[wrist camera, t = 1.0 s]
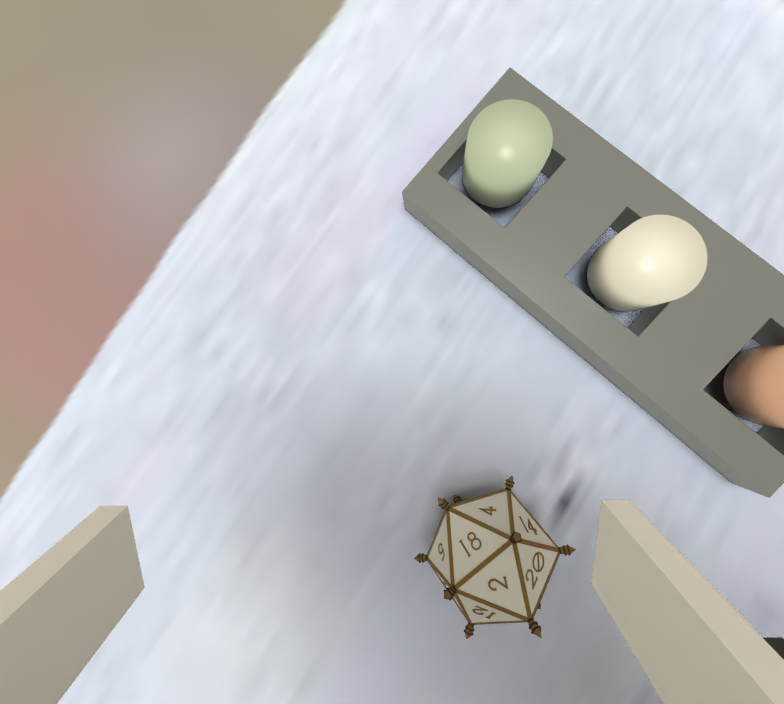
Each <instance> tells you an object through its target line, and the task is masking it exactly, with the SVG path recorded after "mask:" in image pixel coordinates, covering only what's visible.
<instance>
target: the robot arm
mask: <svg viewBox="0 0 784 704" xmlns="http://www.w3.org/2000/svg"><path fill="white" fill-rule="evenodd" d="M591 584H592V586H593V587H594V589H595V591H596V592H597V594H598V596H599V597H600V599H601V601H602V602H603V604H604V606H605V607H606V609H607V611H608V612H609V614H610V616H611V617H612V619H613V621H614V622H615V624H616V626H617V627H618V629H619V631H620V632H621V634H622V636H623V637H624V639H625V641H626V642H627V644H628V646H629V647H630V649H631V651H632V652H633V654H634V656H635V657H636V659H637V661H638V662H639V664H640V666H641V667H642V669H643V671H644V672H645V674H646V676H647V677H648V679H649V681H650V682H651V684H652V686H653V687H654V689H655V691H656V692H657V694H658V696H659V697H660V699H661V701H662V702H663V704H784V639H783V638H762V637H761V636H760V635H759V634H758V633H757V632H756V631H755V630H754V628H753V627H752V626H751V625H750V624H749V623H748V622H747V621H746V620H745V619H744V618H743V617H742V616H741V615H740V614H739V613H738V612H737V611H736V610H735V609H734V608H733V607H732V606H731V605H730V604H729V603H728V602H727V600H726V599H725V598H724V597H723V596H722V595H721V594H720V593H719V592H718V591H717V590H716V589H715V588H714V587H713V586H712V585H711V584H710V583H709V582H708V581H707V580H706V579H705V578H704V577H703V576H702V575H701V574H700V572H699V571H698V570H697V569H696V568H695V567H694V566H693V565H692V564H691V563H690V562H689V561H688V560H687V559H686V558H685V557H684V556H683V555H682V554H681V553H680V552H679V551H678V550H677V549H676V548H675V547H674V546H673V544H672V543H671V542H670V541H669V540H668V539H667V538H666V537H665V536H664V535H663V534H662V533H661V532H660V531H659V530H658V529H657V528H656V527H655V526H654V525H653V524H652V523H651V522H650V521H649V520H648V519H647V517H646V516H645V515H644V514H643V513H642V512H641V511H640V510H639V509H638V508H637V507H636V506H635V505H634V504H633V503H632V502H631V501H630V500H601V507H600V515H599V523H598V531H597V539H596V547H595V555H594V563H593V571H592V579H591ZM143 589H144V583H143V578H142V573H141V568H140V563H139V559H138V554H137V549H136V544H135V539H134V534H133V529H132V525H131V520H130V515H129V510H128V506H100V507H99V508H98V509H96V510H95V511H94V512H93V513H92V514H90V515H89V516H88V517H87V518H86V519H85V520H83V521H82V522H81V523H80V524H79V525H78V526H76V527H75V528H74V529H73V530H72V531H70V532H69V533H68V534H67V535H66V536H65V537H63V538H62V539H61V540H60V541H59V542H58V543H56V544H55V545H54V546H53V547H52V548H50V549H49V550H48V551H47V552H46V553H45V554H43V555H42V556H41V557H40V558H39V559H38V560H36V561H35V562H34V563H33V564H32V565H30V566H29V567H28V568H27V569H26V570H25V571H23V572H22V573H21V574H20V575H19V576H18V577H16V578H15V579H14V580H13V581H12V582H10V583H9V584H8V585H7V586H6V587H5V588H3V589H2V590H1V591H0V704H57V703H58V701H59V700H60V699H61V698H62V696H63V695H64V694H65V692H66V691H67V690H68V688H69V687H70V686H71V684H72V683H73V682H74V680H75V679H76V678H77V676H78V675H79V674H80V672H81V671H82V670H83V668H84V667H85V666H86V664H87V663H88V662H89V660H90V659H91V658H92V656H93V655H94V654H95V652H96V651H97V650H98V648H99V647H100V646H101V645H102V643H103V642H104V641H105V639H106V638H107V637H108V635H109V634H110V633H111V631H112V630H113V629H114V627H115V626H116V625H117V623H118V622H119V621H120V619H121V618H122V617H123V615H124V614H125V613H126V611H127V610H128V609H129V607H130V606H131V605H132V603H133V602H134V601H135V599H136V598H137V597H138V595H139V594H140V593H141V591H142V590H143Z"/></svg>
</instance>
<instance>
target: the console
mask: <svg viewBox="0 0 784 704" xmlns="http://www.w3.org/2000/svg"><path fill="white" fill-rule="evenodd" d="M508 99H516V100H522V101H526V102H529V103H531V104H533V105H534V106H536V107H537V108H539V109H540V110H541V111H542V112H543V113H544V114H545V116H546V117H547V119H548V120H549V123H550V125H551V128H552V133H553V144H552V149H551V152H550V154H549V157H548V159H547V160H546V162H545V164H544V166H543V168H542V170H541V172H542V173H543V174H545V175H546V176H547V177H548V178H549V179H548V180H547V181H546V183H545V184H544V185H543V186H542V187H541V188H540V189H539V191H538V192H537V193H536V194H535V195H534V196H533V197H532V198H531V200H530V201H529V202H528V203H527V204H526V205H525V206H524V207H523V209H522V210H521V211H520V212H519V213H518V214H517V215H516V216H515V218H514V219H513V220H512V221H511V222H510V223H509V224H508V226H507V227H506V228H504V227H503V226H502V225H500V224H499V223H498V222H497V221H495V220H494V219H493V218H492V217H491V216H489V215H488V214H487V213H486V212H484V211H483V210H482V209H481V208H480V207H478V206H477V205H476V204H475V203H473V202H472V201H471V200H470V199H468V198H467V197H466V196H465V195H464V194H462V193H461V192H460V191H459V190H457V189H456V188H455V187H454V186H453V185H451V184H450V183H449V182H448V181H447V180H448V179H449V178H450V177H451V176H452V175H453V173H454V172H455V171H456V170H457V169H458V168H459V167H460V165H461V164H462V163H463V162H464V155H465V148H466V142H467V135H468V131H469V128H470V126H471V124H472V122H473V120H474V119H475V117H476V116H477V115H478V114H479V113H480V112H481V111H482V110H483V109H484V108H486V107H487V106H489V105H491V104H493V103H495V102H498V101H502V100H508ZM402 194H403V200H404V206H405V210H406V211H408V212H409V213H410V214H411V215H412V216H414V217H415V218H416V219H417V220H418V221H420V222H421V223H422V224H423V225H424V226H426V227H427V228H428V229H429V230H430V231H432V232H433V233H434V234H435V235H436V236H437V237H439V238H440V239H441V240H442V241H443V242H445V243H446V244H447V245H448V246H449V247H451V248H452V249H453V250H454V251H455V252H457V253H458V254H459V255H460V256H461V257H463V258H464V259H465V260H466V261H467V262H468V263H470V264H471V265H472V266H473V267H474V268H476V269H477V270H478V271H479V272H480V273H482V274H483V275H484V276H485V277H486V278H488V279H489V280H490V281H491V282H492V283H494V284H495V285H496V286H497V287H498V288H500V289H501V290H502V291H503V292H504V293H505V294H507V295H508V296H509V297H510V298H511V299H513V300H514V301H515V302H516V303H517V304H519V305H520V306H521V307H522V308H523V309H525V310H526V311H527V312H528V313H529V314H531V315H532V316H533V317H534V318H535V319H537V320H538V321H539V322H540V323H541V324H542V325H544V326H545V327H546V328H547V329H548V330H550V331H551V332H552V333H553V334H554V335H556V336H557V337H558V338H559V339H560V340H562V341H563V342H564V343H565V344H566V345H568V346H569V347H570V348H571V349H572V350H574V351H575V352H576V353H577V354H578V355H579V356H581V357H582V358H583V359H584V360H585V361H587V362H588V363H589V364H590V365H591V366H593V367H594V368H595V369H596V370H597V371H599V372H600V373H601V374H602V375H603V376H605V377H606V378H607V379H608V380H609V381H611V382H612V383H613V384H614V385H615V386H616V387H618V388H619V389H620V390H621V391H622V392H624V393H625V394H626V395H627V396H628V397H630V398H631V399H632V400H633V401H634V402H636V403H637V404H638V405H639V406H640V407H642V408H643V409H644V410H645V411H646V412H648V413H649V414H650V415H651V416H652V417H653V418H655V419H656V420H657V421H658V422H659V423H661V424H662V425H663V426H664V427H665V428H667V429H668V430H669V431H670V432H671V433H673V434H674V435H675V436H676V437H677V438H679V439H680V440H681V441H682V442H683V443H685V444H686V445H687V446H688V447H689V448H690V449H692V450H693V451H694V452H695V453H696V454H698V455H699V456H700V457H701V458H702V459H704V460H705V461H706V462H707V463H708V464H710V465H711V466H712V467H713V468H714V469H716V470H717V471H718V472H719V473H720V474H722V475H723V476H724V477H725V478H726V479H727V480H729V481H730V482H731V483H733V484H735V485H738V486H740V487H743V488H746V489H748V490H751V491H753V492H756V493H758V494H761V495H764V496H766V497H769V498H770V497H771V496H772V495H773V493H774V492H775V491H776V490H777V489H778V488H779V487H780V486H781V485H782V484H783V483H784V429H782V428H777V427H771V426H764V427H763V428H762V429H761V430H760V431H759V432H758V433H755V432H754V431H753V430H752V429H751V428H749V427H748V426H747V425H746V424H744V423H743V422H742V421H741V420H740V419H738V418H737V417H736V416H735V415H733V414H732V413H731V412H730V411H728V410H727V409H726V408H725V407H724V406H722V405H721V404H720V403H719V402H717V401H716V400H715V399H714V398H713V397H711V396H710V395H709V394H708V393H706V392H705V391H704V390H703V389H704V388H705V387H706V386H707V385H708V384H709V383H710V382H711V381H712V380H713V378H714V377H715V376H716V375H717V374H718V373H719V372H720V371H721V370H722V369H723V368H724V367H725V366H726V365H727V364H728V362H729V361H730V360H731V359H732V358H733V357H734V356H735V355H736V354H737V353H738V352H739V351H740V350H741V349H742V347H743V346H744V345H745V344H746V343H747V342H748V341H749V340H750V339H751V338H753V339H755V340H756V341H757V342H758V343H760V344H761V345H762V346H774V345H784V275H783V274H782V273H780V272H779V271H778V270H776V269H775V268H774V267H772V266H771V265H770V264H769V263H767V262H766V261H765V260H763V259H762V258H761V257H759V256H758V255H757V254H755V253H754V252H753V251H751V250H750V249H749V248H747V247H746V246H745V245H743V244H742V243H741V242H739V241H738V240H737V239H736V238H734V237H733V236H732V235H730V234H729V233H728V232H726V231H725V230H724V229H722V228H721V227H720V226H718V225H717V224H716V223H714V222H713V221H712V220H710V219H709V218H708V217H707V216H705V215H704V214H703V213H701V212H700V211H699V210H697V209H696V208H695V207H693V206H692V205H691V204H689V203H688V202H687V201H685V200H684V199H683V198H681V197H680V196H679V195H677V194H676V193H675V192H674V191H672V190H671V189H670V188H668V187H667V186H666V185H664V184H663V183H662V182H660V181H659V180H658V179H656V178H655V177H654V176H652V175H651V174H650V173H648V172H647V171H646V170H645V169H643V168H642V167H641V166H639V165H638V164H637V163H635V162H634V161H633V160H631V159H630V158H629V157H627V156H626V155H625V154H623V153H622V152H621V151H619V150H618V149H617V148H616V147H614V146H613V145H612V144H610V143H609V142H608V141H606V140H605V139H604V138H602V137H601V136H600V135H598V134H597V133H596V132H594V131H593V130H592V129H590V128H589V127H588V126H586V125H585V124H584V123H583V122H581V121H580V120H579V119H577V118H576V117H575V116H573V115H572V114H571V113H569V112H568V111H567V110H565V109H564V108H563V107H561V106H560V105H559V104H557V103H556V102H555V101H554V100H552V99H551V98H550V97H548V96H547V95H546V94H544V93H543V92H542V91H540V90H539V89H538V88H536V87H535V86H534V85H532V84H531V83H530V82H528V81H527V80H526V79H524V78H523V77H522V76H521V75H519V74H518V73H517V72H515V71H514V70H513V69H511V68H509V69H508V70H507V71H506V73H505V74H504V75H503V76H502V77H501V78H500V79H499V81H498V82H497V83H496V84H495V85H494V86H493V88H492V89H491V90H490V91H489V92H488V93H487V94H486V96H485V97H484V98H483V99H482V100H481V101H480V103H479V104H478V105H477V106H476V107H475V108H474V109H473V111H472V112H471V113H470V114H469V115H468V116H467V118H466V119H465V120H464V121H463V122H462V123H461V124H460V126H459V127H458V128H457V129H456V130H455V131H454V133H453V134H452V135H451V136H450V137H449V138H448V139H447V141H446V142H445V143H444V144H443V145H442V146H441V148H440V149H439V150H438V151H437V152H436V153H435V154H434V156H433V157H432V158H431V159H430V160H429V161H428V163H427V164H426V165H425V166H424V167H423V168H422V169H421V171H420V172H419V173H418V174H417V175H416V176H415V178H414V179H413V180H412V181H411V182H410V183H409V184H408V186H407V187H406V188H405V189H404V190H403V191H402ZM651 215H670V216H674V217H677V218H680V219H682V220H684V221H686V222H687V223H689V224H690V225H692V226H693V227H694V228H695V229H696V230H697V231H698V232H699V234H700V235H701V237H702V239H703V241H704V243H705V246H706V249H707V267H706V271H705V273H704V276H703V278H702V279H701V281H700V283H699V284H698V285H697V286H696V287H695V288H694V289H693V290H692V291H691V292H690V293H688V294H687V295H685V296H683V297H681V298H679V299H676V300H673V301H669V302H665V303H662V304H658V305H655V306H651V307H647V308H645V309H644V310H643V312H642V313H641V314H640V315H639V316H638V317H637V318H636V319H635V320H634V321H633V322H632V324H631V325H630V326H629V327H628V328H627V327H625V326H624V325H623V324H622V323H621V322H619V321H618V320H617V319H616V318H614V317H613V316H612V315H611V314H610V313H608V312H607V311H606V310H605V309H603V308H602V307H601V306H600V305H598V304H597V303H596V302H595V301H594V300H592V299H591V298H590V297H589V296H587V295H586V294H585V293H584V292H583V291H581V290H580V289H579V288H578V287H576V286H575V285H574V284H573V283H572V282H570V281H569V280H568V279H567V278H565V277H564V276H565V275H566V274H567V273H568V272H569V270H570V269H571V268H572V267H573V266H574V265H575V264H576V263H577V262H578V260H579V259H580V258H581V257H582V256H583V255H584V254H585V253H586V252H587V250H588V249H589V248H590V247H591V246H592V245H593V244H594V243H595V242H596V240H597V239H598V238H599V237H600V236H601V235H602V234H603V233H604V232H605V230H606V229H607V228H608V227H609V226H611V227H612V228H613V229H615V230H616V231H617V232H618V233H620V232H621V231H622V230H624V229H625V228H626V227H628V226H629V225H631V224H632V223H633V222H635V221H637V220H639V219H641V218H644V217H647V216H651Z"/></svg>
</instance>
